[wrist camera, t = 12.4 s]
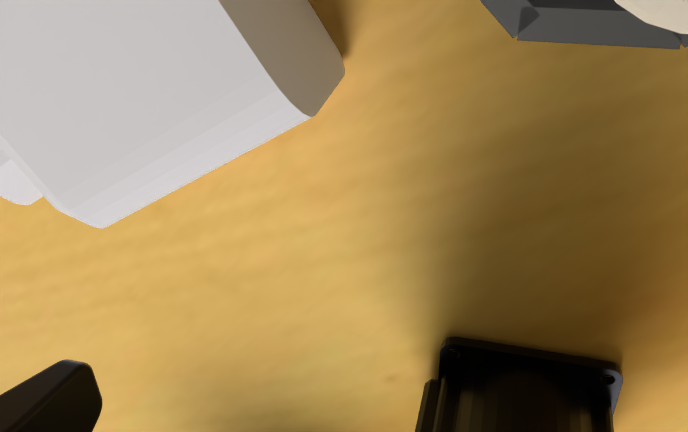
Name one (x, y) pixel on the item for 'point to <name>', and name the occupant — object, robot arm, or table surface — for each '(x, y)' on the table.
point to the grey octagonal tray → (580, 23)
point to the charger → (148, 94)
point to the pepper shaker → (660, 13)
